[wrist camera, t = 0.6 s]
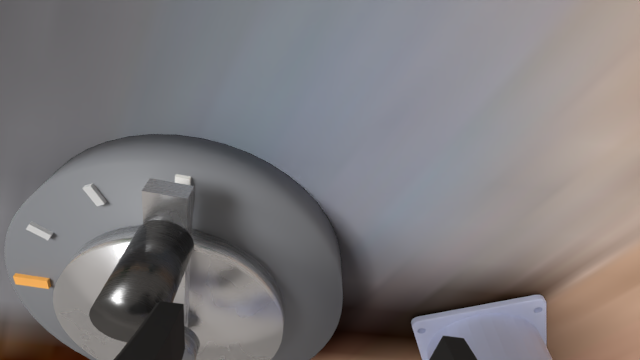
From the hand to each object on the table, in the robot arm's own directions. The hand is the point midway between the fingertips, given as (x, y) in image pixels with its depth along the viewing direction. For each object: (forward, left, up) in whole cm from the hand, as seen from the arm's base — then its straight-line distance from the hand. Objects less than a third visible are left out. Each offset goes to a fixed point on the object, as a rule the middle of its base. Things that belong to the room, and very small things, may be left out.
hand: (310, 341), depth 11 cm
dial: (-3, +8, -7) cm, 11 cm away
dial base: (-4, +9, -9) cm, 14 cm away
